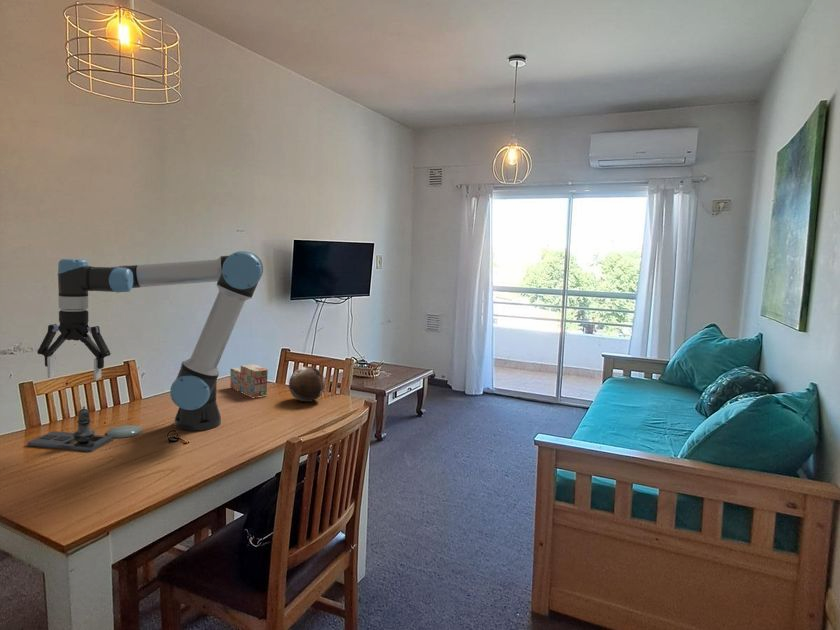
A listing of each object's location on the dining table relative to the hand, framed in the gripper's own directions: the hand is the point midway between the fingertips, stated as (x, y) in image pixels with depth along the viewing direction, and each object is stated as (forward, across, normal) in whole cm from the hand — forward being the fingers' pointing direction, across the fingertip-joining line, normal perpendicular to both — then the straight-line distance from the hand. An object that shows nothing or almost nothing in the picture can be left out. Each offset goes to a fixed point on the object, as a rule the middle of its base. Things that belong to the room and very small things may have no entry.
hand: (74, 378), depth 159 cm
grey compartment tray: (+20, 0, +3) cm, 20 cm away
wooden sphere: (+21, -63, -55) cm, 86 cm away
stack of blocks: (+21, -36, -64) cm, 77 cm away
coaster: (+20, -11, -8) cm, 24 cm away
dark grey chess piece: (+20, -4, +3) cm, 21 cm away
